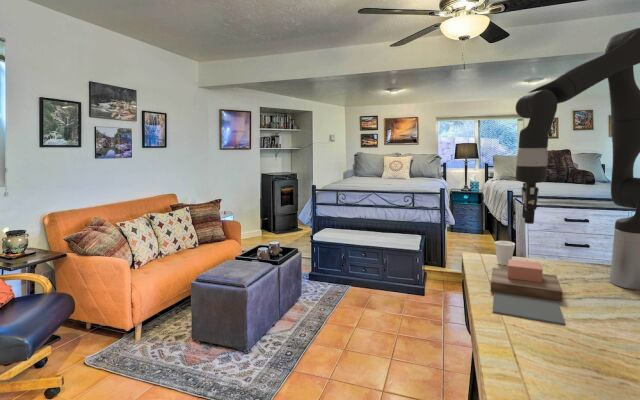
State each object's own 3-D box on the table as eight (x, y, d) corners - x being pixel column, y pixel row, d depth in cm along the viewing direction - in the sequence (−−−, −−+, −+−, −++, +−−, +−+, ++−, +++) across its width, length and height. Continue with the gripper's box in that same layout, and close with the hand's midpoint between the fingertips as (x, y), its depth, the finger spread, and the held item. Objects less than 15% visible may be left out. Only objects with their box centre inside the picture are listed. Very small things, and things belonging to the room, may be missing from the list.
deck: (492, 276, 119) (492, 267, 119) (555, 284, 111) (556, 275, 111) (490, 291, 107) (491, 281, 107) (561, 301, 99) (562, 291, 98)
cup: (489, 263, 132) (490, 242, 131) (501, 258, 138) (502, 238, 137) (509, 268, 127) (511, 246, 125) (520, 262, 133) (522, 241, 132)
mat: (494, 293, 106) (494, 291, 106) (557, 302, 98) (558, 301, 98) (492, 312, 93) (492, 311, 93) (565, 325, 86) (565, 323, 86)
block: (507, 270, 115) (508, 259, 115) (539, 274, 111) (540, 262, 111) (507, 278, 109) (508, 265, 109) (541, 282, 105) (542, 269, 105)
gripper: (550, 165, 92) (546, 226, 94) (543, 163, 104) (539, 217, 107) (517, 165, 95) (514, 224, 97) (515, 163, 108) (511, 215, 110)
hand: (527, 220), depth 102 cm, fingers open, 8 cm apart
